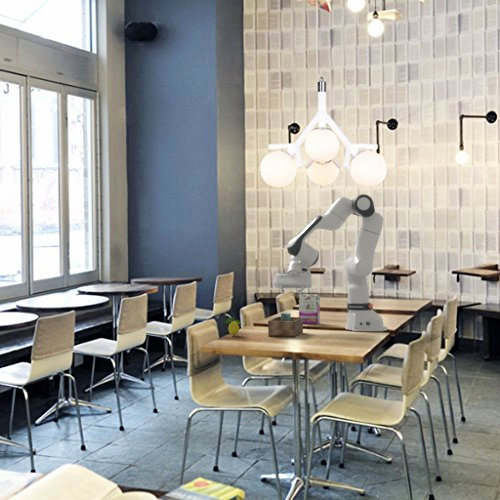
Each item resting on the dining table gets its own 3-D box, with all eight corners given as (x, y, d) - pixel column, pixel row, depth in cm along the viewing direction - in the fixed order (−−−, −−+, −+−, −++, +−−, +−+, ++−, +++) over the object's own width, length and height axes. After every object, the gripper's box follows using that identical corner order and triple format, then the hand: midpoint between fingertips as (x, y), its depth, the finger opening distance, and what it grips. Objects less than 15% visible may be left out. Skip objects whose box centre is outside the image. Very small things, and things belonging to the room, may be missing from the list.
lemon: (225, 336, 408) (224, 316, 408) (230, 334, 414) (230, 315, 413) (236, 337, 405) (236, 317, 405) (242, 335, 410) (241, 316, 410)
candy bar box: (320, 323, 451) (320, 294, 450) (317, 324, 447) (317, 295, 446) (301, 322, 455) (301, 294, 455) (298, 323, 451) (298, 294, 450)
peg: (290, 332, 413) (290, 312, 412) (288, 333, 409) (288, 313, 409) (283, 331, 414) (282, 312, 414) (281, 333, 410) (280, 313, 410)
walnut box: (302, 332, 418) (302, 317, 417) (295, 337, 402) (295, 321, 401) (277, 331, 422) (276, 316, 422) (268, 336, 406) (268, 320, 405)
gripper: (275, 269, 431) (270, 288, 422) (312, 269, 425) (308, 289, 416) (277, 276, 436) (273, 296, 427) (314, 277, 430) (310, 297, 421)
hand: (290, 293), depth 422 cm, fingers open, 8 cm apart
